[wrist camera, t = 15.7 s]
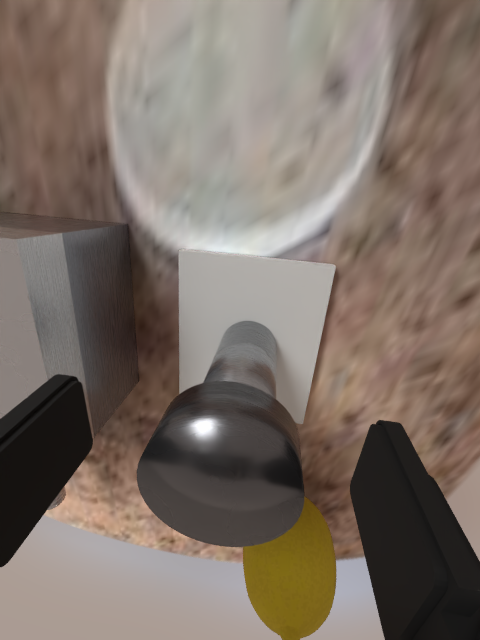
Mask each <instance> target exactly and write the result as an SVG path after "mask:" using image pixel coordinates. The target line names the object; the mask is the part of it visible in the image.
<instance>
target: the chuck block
mask: <svg viewBox="0 0 480 640" xmlns="http://www.w3.org/2000/svg"><path fill="white" fill-rule="evenodd" d="M56 374H62V375H69V376H75V377H77V378H78V381H79V382H81V383H82V386H83V391H84V396H85V402H86V407H87V412H88V418H89V423H90V428H91V433H92V439H93V438H94V437H95V435H96V434H97V433H98V432H99V430H100V429H101V428H102V427H103V425H104V424H105V423H106V422H107V420H108V419H109V418H110V417H111V415H112V414H113V413H114V412H115V410H116V409H117V408H118V407H119V405H120V404H121V403H122V402H123V400H124V399H125V398H126V397H127V395H128V394H129V393H130V391H131V390H132V389H133V388H134V386H135V385H136V384H137V383H138V381H139V375H138V361H137V347H136V333H135V319H134V305H133V291H132V277H131V263H130V249H129V235H128V224H121V223H110V222H100V221H89V220H79V219H68V218H58V217H47V216H37V215H26V214H16V213H5V212H0V419H1V418H2V417H3V416H5V415H6V414H7V413H8V412H9V411H11V410H12V409H13V408H14V407H16V406H17V405H18V404H19V403H21V402H22V401H23V400H24V399H26V398H27V397H28V396H29V395H31V394H32V393H33V392H34V391H35V390H37V389H38V388H39V387H40V386H42V385H43V384H44V383H45V382H47V381H48V380H49V379H50V378H52V377H53V376H54V375H56ZM65 496H66V491H65V487H63V489H62V490H61V491H60V493H59V494H58V495H57V497H56V498H55V499H54V501H53V502H52V504H51V505H50V506H49V508H48V509H47V510H50V509H53V508H55V507H56V506H58V505H59V504H60V503H61V502H62V501H63V500H64V498H65Z"/></svg>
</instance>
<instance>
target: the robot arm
mask: <svg viewBox="0 0 480 640" xmlns="http://www.w3.org/2000/svg"><path fill="white" fill-rule="evenodd" d="M92 444H93V439H92V433H91V428H90V423H89V418H88V412H87V407H86V402H85V396H84V391H83V386H82V383H81V382H79V381H78V378H77V377H75V376H69V375H62V374H56V375H54V376H53V377H52V378H50V379H49V380H48V381H47V382H45V383H44V384H43V385H42V386H40V387H39V388H38V389H37V390H35V391H34V392H33V393H32V394H31V395H29V396H28V397H27V398H26V399H24V400H23V401H22V402H21V403H19V404H18V405H17V406H16V407H14V408H13V409H12V410H11V411H9V412H8V413H7V414H6V415H5V416H3V417H2V418H1V419H0V567H3V566H4V565H6V564H7V563H8V562H9V560H10V559H11V558H12V557H13V555H14V554H15V553H16V551H17V550H18V548H19V547H20V546H21V544H22V543H23V542H24V540H25V539H26V538H27V536H28V535H29V534H30V532H31V531H32V529H33V528H34V527H35V525H36V524H37V523H38V521H39V520H40V519H41V517H42V516H43V514H44V513H45V512H46V510H47V509H48V508H49V506H50V505H51V504H52V502H53V501H54V499H55V498H56V497H57V495H58V494H59V493H60V491H61V490H62V489H63V487H64V486H65V485H66V483H67V482H68V480H69V479H70V478H71V476H72V475H73V474H74V472H75V471H76V470H77V468H78V467H79V465H80V464H81V463H82V461H83V460H84V459H85V457H86V456H87V455H88V453H89V452H90V450H91V448H92ZM350 494H351V499H352V503H353V507H354V512H355V516H356V520H357V524H358V528H359V533H360V537H361V541H362V545H363V549H364V554H365V558H366V562H367V566H368V571H369V575H370V579H371V583H372V587H373V592H374V596H375V600H376V604H377V609H378V613H379V617H380V621H381V625H382V629H383V633H384V637H385V640H480V561H479V560H478V558H477V556H476V554H475V552H474V550H473V549H472V547H471V545H470V543H469V541H468V539H467V538H466V536H465V534H464V532H463V530H462V528H461V527H460V525H459V523H458V521H457V519H456V517H455V515H454V514H453V512H452V510H451V508H450V506H449V504H448V503H447V501H446V499H445V497H444V495H443V493H442V492H441V490H440V488H439V486H438V484H437V483H436V481H435V480H434V478H432V477H431V476H430V475H428V473H427V471H426V469H425V467H424V466H423V464H422V462H421V460H420V458H419V456H418V454H417V452H416V450H415V449H414V447H413V445H412V443H411V441H410V439H409V437H408V435H407V434H406V432H405V430H404V428H403V426H402V425H401V424H400V423H397V422H390V421H383V420H379V421H378V422H377V423H376V424H372V425H371V426H370V428H369V431H368V434H367V437H366V440H365V443H364V446H363V448H362V451H361V454H360V457H359V460H358V463H357V466H356V469H355V471H354V474H353V477H352V480H351V484H350Z"/></svg>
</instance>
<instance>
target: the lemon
mask: <svg viewBox="0 0 480 640" xmlns="http://www.w3.org/2000/svg"><path fill="white" fill-rule="evenodd" d="M243 566H244V575H245V581H246V588H247V592H248V596H249V598H250V601H251V604H252V605H253V608H254V609H255V611H256V613H257V614H258V616H259V617H260V619H261V620H262V621H263V622H264V623H265V624H266V626H267V627H269V628H270V629H271V630H272V631H274V632H275V633H277V634H278V635H280V636H281V638H282V640H300V638H303V637H306V636H309V635H311V634H312V633H314V632H315V631H316V630H318V628H319V627H320V626H321V625H322V624H323V622H324V621H325V620H326V618H327V617H328V615H329V613H330V610H331V608H332V604H333V599H334V595H335V588H336V559H335V552H334V547H333V541H332V537H331V534H330V530H329V528H328V525H327V523H326V521H325V519H324V517H323V516H322V514H321V512H320V511H319V509H318V508H317V507H316V506H315V505H314V504H313V503H312V502H311V501H310V500H309V499H308V498H306V497H304V506H303V510H302V513H301V515H300V517H299V519H298V521H297V522H296V523H295V524H294V526H293V527H292V528H291V529H290V530H288V531H287V532H286V533H285V534H283V535H282V536H280V537H278V538H276V539H274V540H272V541H269V542H266V543H263V544H259V545H254V546H246V547H243Z"/></svg>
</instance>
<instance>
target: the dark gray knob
mask: <svg viewBox="0 0 480 640" xmlns="http://www.w3.org/2000/svg"><path fill="white" fill-rule="evenodd" d="M276 370H277V343H276V339H275V337H274V335H273V333H272V332H271V331H270V330H269V329H268V328H267V327H266V326H264V325H262V324H260V323H258V322H255V321H241V322H237V323H235V324H233V325H231V326H230V327H229V328H228V329H227V330H226V331H225V333H224V335H223V337H222V339H221V342H220V344H219V346H218V349H217V351H216V353H215V356H214V358H213V361H212V363H211V365H210V368H209V370H208V372H207V375H206V377H205V380H204V382H203V383H202V384H198V385H195V386H193V387H190V388H188V389H187V390H185V391H183V392H182V393H180V394H179V395H178V396H177V397H176V398H175V399H174V400H173V401H172V402H171V403H170V405H169V407H168V408H167V410H166V412H165V414H164V415H163V417H162V419H161V421H160V423H159V425H158V426H157V428H156V430H155V432H154V434H153V436H152V438H151V439H150V441H149V443H148V445H147V447H146V449H145V450H144V452H143V454H142V456H141V458H140V461H139V463H138V468H137V482H138V487H139V490H140V493H141V495H142V497H143V499H144V501H145V502H146V504H147V505H148V507H149V508H150V509H151V510H152V512H153V513H154V514H155V515H156V516H157V517H158V518H159V519H160V520H162V521H163V522H164V523H165V524H167V525H168V526H169V527H171V528H173V529H174V530H176V531H178V532H179V533H181V534H183V535H185V536H188V537H190V538H193V539H195V540H198V541H201V542H204V543H209V544H213V545H219V546H227V547H246V546H254V545H259V544H263V543H266V542H269V541H272V540H274V539H276V538H278V537H280V536H282V535H283V534H285V533H286V532H287V531H288V530H290V529H291V528H292V527H293V526H294V524H295V523H296V522H297V521H298V519H299V517H300V515H301V513H302V510H303V506H304V486H303V475H302V463H301V452H300V441H299V433H298V429H297V426H296V424H295V421H294V420H293V418H292V416H291V415H290V413H289V412H288V411H287V409H286V408H285V407H284V406H283V405H282V404H281V403H280V402H279V401H278V400H276Z"/></svg>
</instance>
